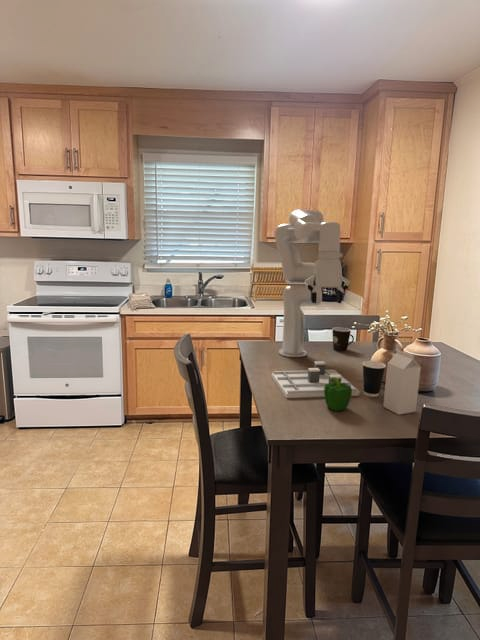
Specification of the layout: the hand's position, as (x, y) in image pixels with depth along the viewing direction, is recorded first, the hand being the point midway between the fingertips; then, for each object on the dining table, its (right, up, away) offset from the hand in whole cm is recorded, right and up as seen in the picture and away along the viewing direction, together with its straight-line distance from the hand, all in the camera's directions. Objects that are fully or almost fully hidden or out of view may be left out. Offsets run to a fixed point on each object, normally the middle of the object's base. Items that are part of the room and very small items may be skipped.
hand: (326, 302), depth 168 cm
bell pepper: (-1, -35, -23) cm, 42 cm away
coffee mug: (+16, -21, +46) cm, 53 cm away
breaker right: (+1, -30, -10) cm, 32 cm away
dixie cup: (+14, -33, -10) cm, 37 cm away
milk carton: (+19, -35, -23) cm, 46 cm away
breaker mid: (-5, -29, -3) cm, 29 cm away
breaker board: (-5, -30, -3) cm, 31 cm away
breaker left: (-2, -27, +5) cm, 28 cm away
